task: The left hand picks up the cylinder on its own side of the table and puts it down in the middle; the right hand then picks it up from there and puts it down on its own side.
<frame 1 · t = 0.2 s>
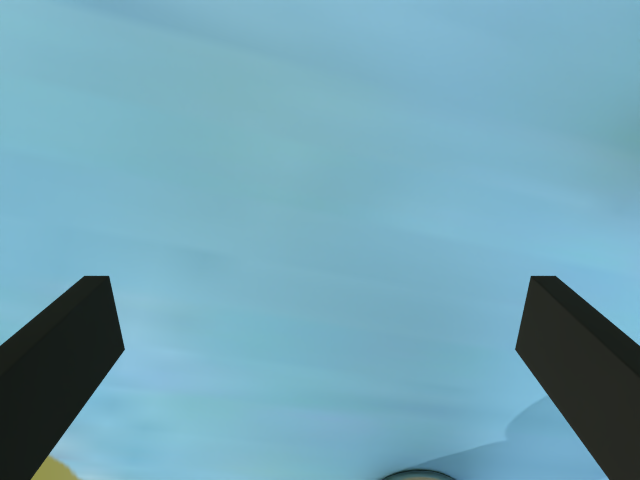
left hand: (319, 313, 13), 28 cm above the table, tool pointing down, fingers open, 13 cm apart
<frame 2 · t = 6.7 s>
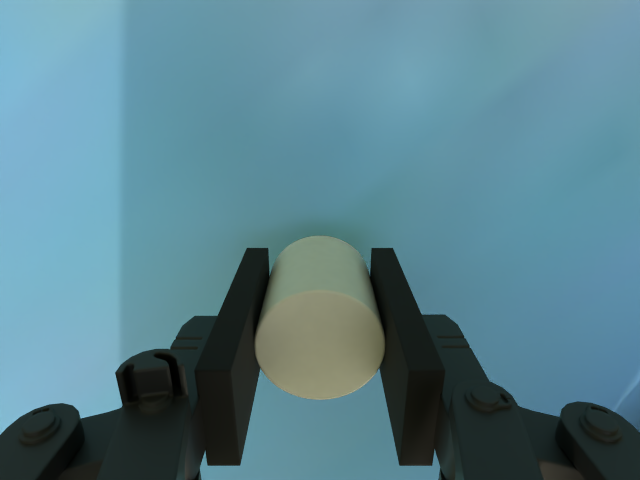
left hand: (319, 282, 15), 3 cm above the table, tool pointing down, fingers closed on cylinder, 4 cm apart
cylinder: (319, 280, 15), point 3 cm above the table, touching left hand
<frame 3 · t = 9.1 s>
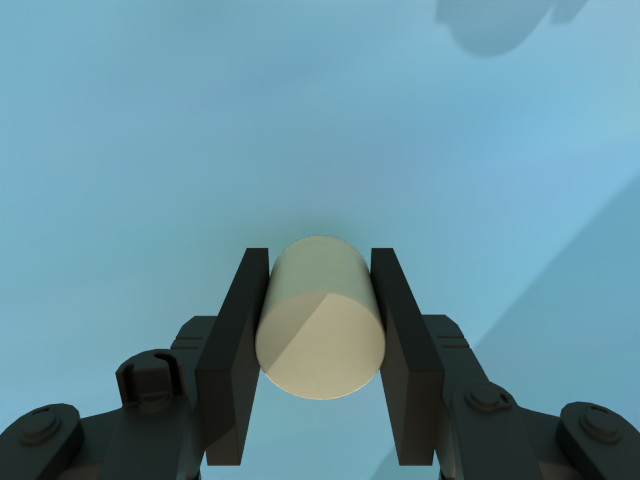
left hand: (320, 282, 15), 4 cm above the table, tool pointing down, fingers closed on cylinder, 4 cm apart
cylinder: (320, 280, 15), point 4 cm above the table, touching left hand
when the left hand's fingers open (0 cm above the table, at t = 11.6 s): cylinder stays where it is, on the table.
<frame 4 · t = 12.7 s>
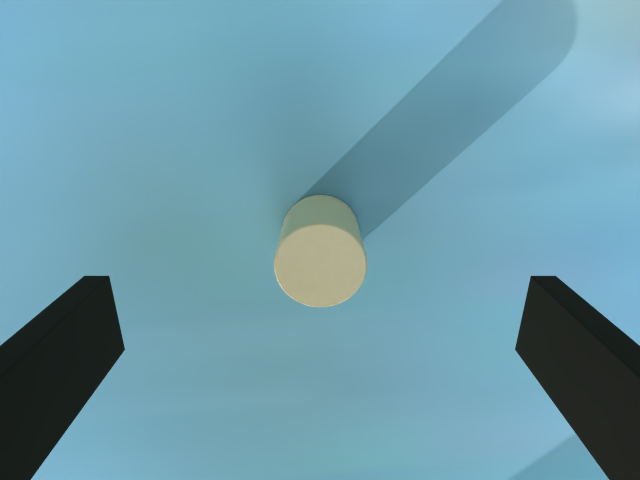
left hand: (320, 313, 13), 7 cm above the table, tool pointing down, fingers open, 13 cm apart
cylinder: (320, 230, 20), on the table
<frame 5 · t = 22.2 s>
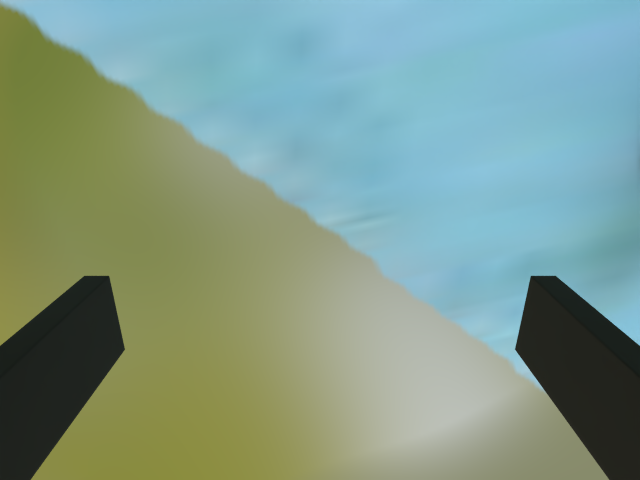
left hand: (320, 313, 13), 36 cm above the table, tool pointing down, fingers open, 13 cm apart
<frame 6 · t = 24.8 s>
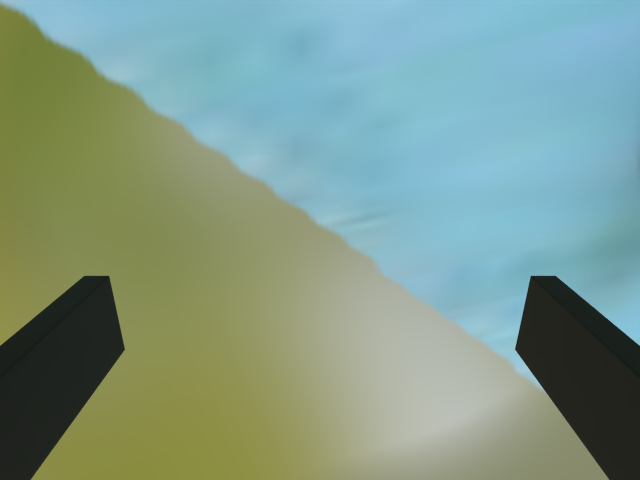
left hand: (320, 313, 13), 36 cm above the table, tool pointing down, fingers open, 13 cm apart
when the right hand's fingers open (2 cm above the table, at t = 28.0 s): cylinder stays where it is, on the table.
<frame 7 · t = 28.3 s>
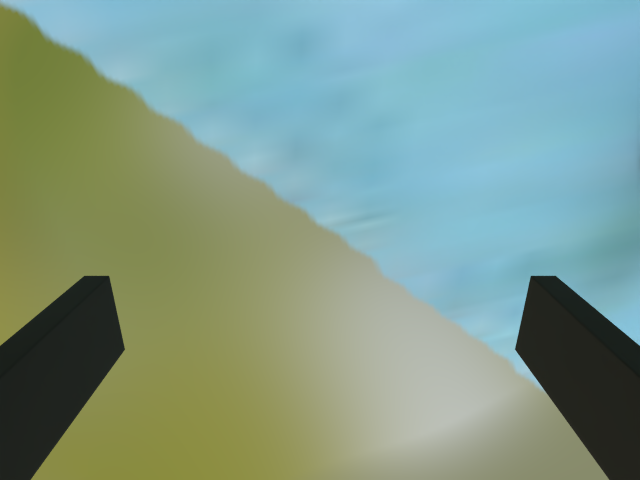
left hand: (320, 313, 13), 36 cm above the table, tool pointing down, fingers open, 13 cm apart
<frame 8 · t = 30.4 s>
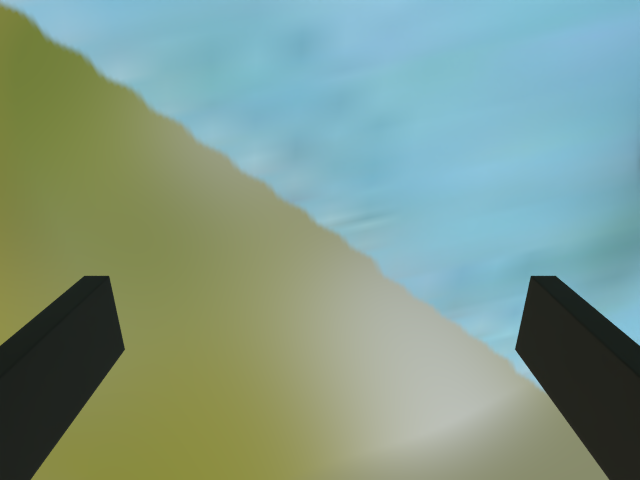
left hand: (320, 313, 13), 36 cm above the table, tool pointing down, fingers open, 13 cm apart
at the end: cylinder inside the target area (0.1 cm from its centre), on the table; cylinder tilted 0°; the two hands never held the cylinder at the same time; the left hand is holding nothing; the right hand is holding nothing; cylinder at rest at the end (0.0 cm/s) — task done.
